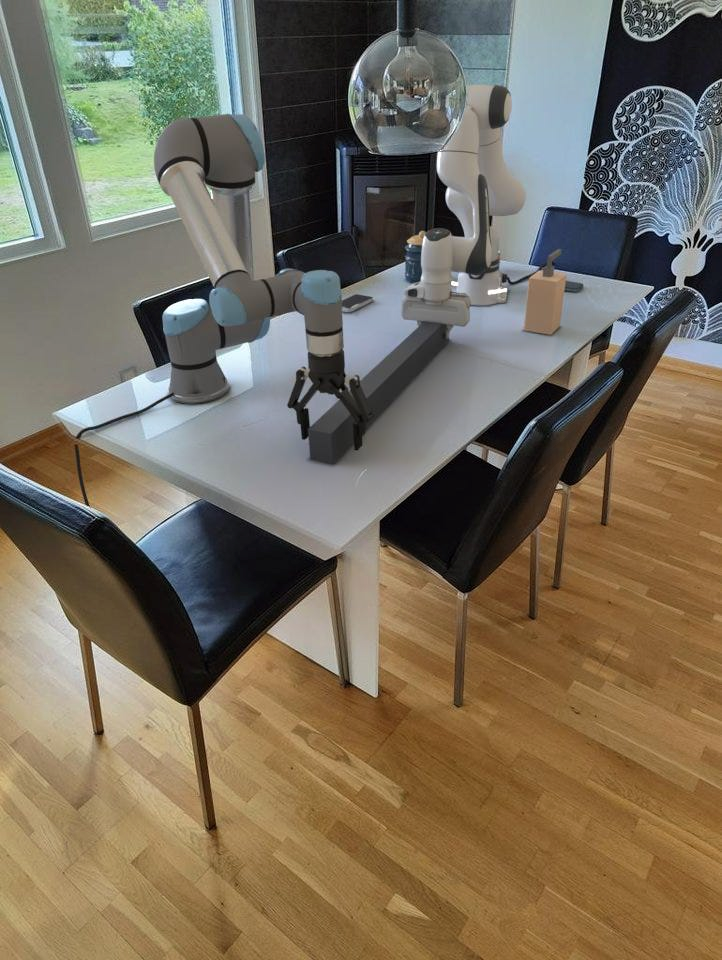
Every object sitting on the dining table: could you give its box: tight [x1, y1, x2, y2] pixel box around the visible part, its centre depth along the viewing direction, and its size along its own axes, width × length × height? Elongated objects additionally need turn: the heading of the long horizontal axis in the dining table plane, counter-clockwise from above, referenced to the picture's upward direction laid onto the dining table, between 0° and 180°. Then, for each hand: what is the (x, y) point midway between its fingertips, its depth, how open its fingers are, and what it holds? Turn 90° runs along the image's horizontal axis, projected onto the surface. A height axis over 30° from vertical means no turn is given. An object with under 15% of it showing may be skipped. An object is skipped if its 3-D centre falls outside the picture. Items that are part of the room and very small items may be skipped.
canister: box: [404, 230, 427, 284], centre depth 251 cm, size 13×13×18 cm
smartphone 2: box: [564, 280, 584, 293], centre depth 241 cm, size 8×2×15 cm
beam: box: [307, 321, 450, 465], centre depth 172 cm, size 77×6×8 cm, turn 155°
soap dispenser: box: [523, 248, 567, 336], centre depth 203 cm, size 13×9×22 cm
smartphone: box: [342, 293, 374, 313], centre depth 232 cm, size 8×1×15 cm
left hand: (331, 442), depth 148 cm, fingers open, 12 cm apart
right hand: (434, 336), depth 198 cm, fingers closed on beam, 5 cm apart
